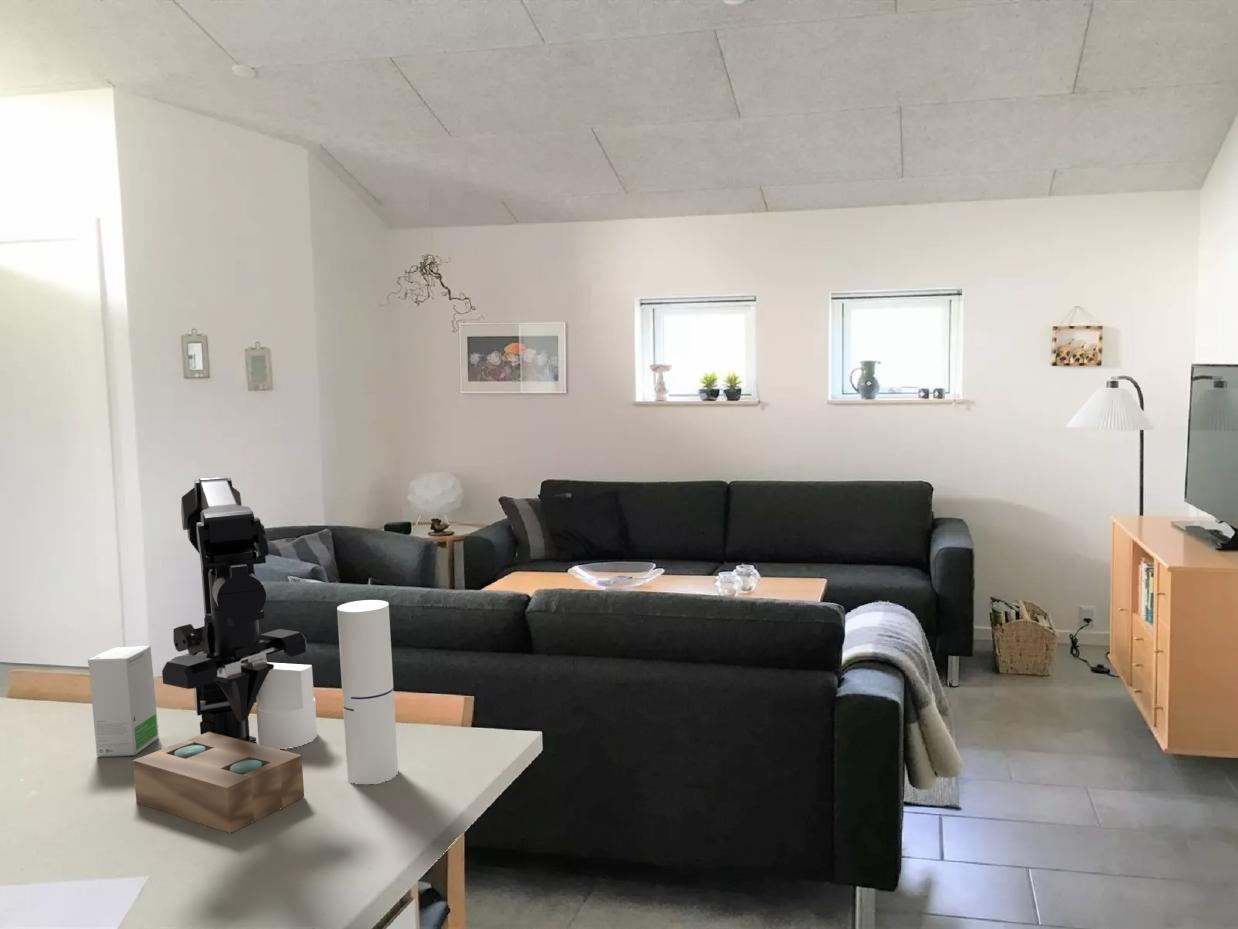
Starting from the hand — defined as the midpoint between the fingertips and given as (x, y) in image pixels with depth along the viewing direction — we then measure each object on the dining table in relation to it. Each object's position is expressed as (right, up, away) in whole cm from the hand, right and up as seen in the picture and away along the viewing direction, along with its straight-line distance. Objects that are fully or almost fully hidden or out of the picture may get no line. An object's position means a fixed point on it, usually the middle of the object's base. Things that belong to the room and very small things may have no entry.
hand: (242, 719), depth 133 cm
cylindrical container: (+15, -11, +11) cm, 22 cm away
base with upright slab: (-3, -10, +27) cm, 29 cm away
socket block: (-5, -12, +4) cm, 14 cm away
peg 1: (-10, -12, +7) cm, 17 cm away
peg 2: (0, -12, +1) cm, 12 cm away
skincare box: (-28, -11, +26) cm, 40 cm away
